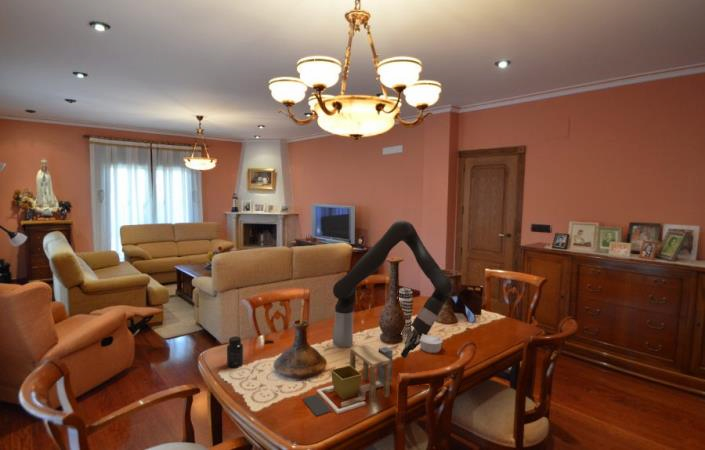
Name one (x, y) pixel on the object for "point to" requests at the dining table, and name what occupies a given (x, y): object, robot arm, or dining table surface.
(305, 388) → the dining table surface
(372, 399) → the oak bridge
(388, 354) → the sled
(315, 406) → the mat
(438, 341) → the ramekin
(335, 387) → the flower pot
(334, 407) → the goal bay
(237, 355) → the supplement bottle
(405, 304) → the striped vase
